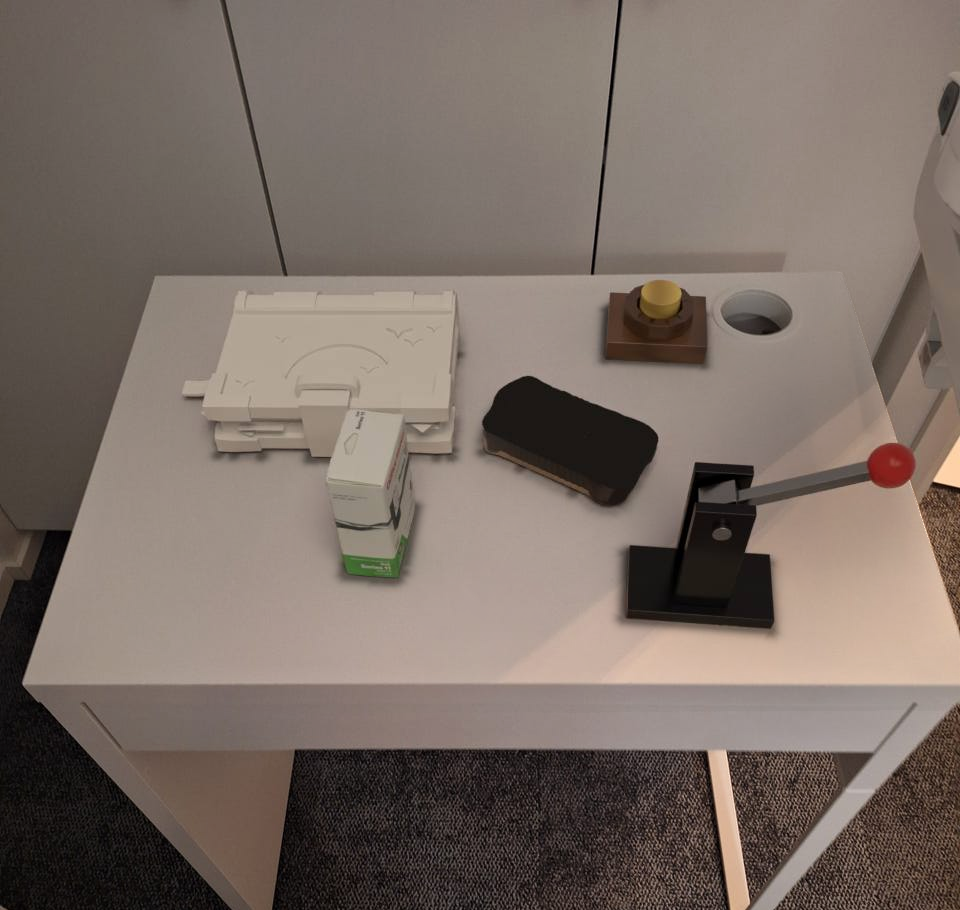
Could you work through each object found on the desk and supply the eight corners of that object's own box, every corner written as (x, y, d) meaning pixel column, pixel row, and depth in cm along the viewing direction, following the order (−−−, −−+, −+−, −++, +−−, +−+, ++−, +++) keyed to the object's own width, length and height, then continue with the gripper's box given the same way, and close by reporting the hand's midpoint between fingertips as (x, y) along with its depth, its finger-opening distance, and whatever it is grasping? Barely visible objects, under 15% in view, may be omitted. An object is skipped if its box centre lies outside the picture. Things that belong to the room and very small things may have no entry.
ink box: (399, 580, 83) (383, 487, 73) (344, 574, 83) (321, 481, 73) (418, 505, 87) (405, 408, 77) (366, 500, 88) (347, 403, 78)
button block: (702, 313, 101) (709, 281, 97) (703, 364, 96) (710, 332, 93) (608, 309, 102) (611, 277, 98) (605, 359, 97) (608, 327, 94)
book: (206, 330, 102) (186, 268, 96) (466, 330, 100) (462, 267, 94) (166, 462, 91) (140, 402, 85) (455, 464, 90) (451, 403, 84)
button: (679, 295, 97) (681, 280, 95) (679, 320, 95) (681, 305, 93) (639, 293, 97) (641, 278, 96) (639, 318, 95) (640, 303, 94)
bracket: (767, 562, 82) (804, 458, 72) (771, 629, 79) (811, 529, 68) (628, 553, 83) (644, 449, 73) (625, 618, 80) (643, 518, 69)
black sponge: (663, 460, 89) (668, 432, 86) (619, 518, 86) (623, 490, 83) (518, 397, 95) (517, 368, 92) (470, 449, 91) (468, 420, 88)
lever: (914, 458, 68) (909, 427, 66) (921, 492, 66) (915, 461, 64) (707, 505, 74) (696, 479, 72) (708, 537, 73) (697, 510, 70)
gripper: (1157, 293, 42) (1017, 501, 54) (1057, 63, 53) (958, 276, 65) (1010, 286, 43) (903, 493, 54) (941, 59, 54) (864, 271, 65)
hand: (933, 373), depth 60 cm, fingers closed
